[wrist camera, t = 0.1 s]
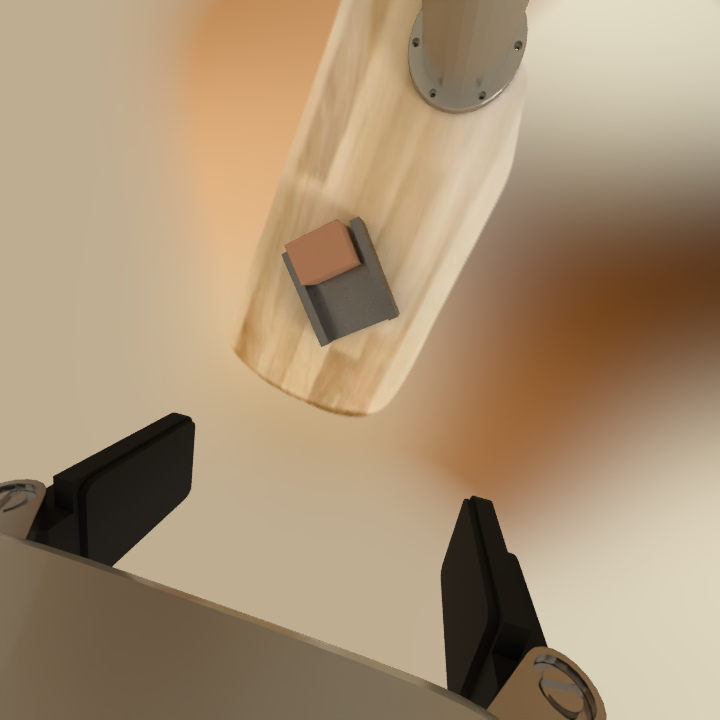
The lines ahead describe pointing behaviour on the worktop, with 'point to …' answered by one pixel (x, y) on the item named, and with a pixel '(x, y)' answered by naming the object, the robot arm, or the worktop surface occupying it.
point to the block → (323, 253)
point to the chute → (348, 293)
